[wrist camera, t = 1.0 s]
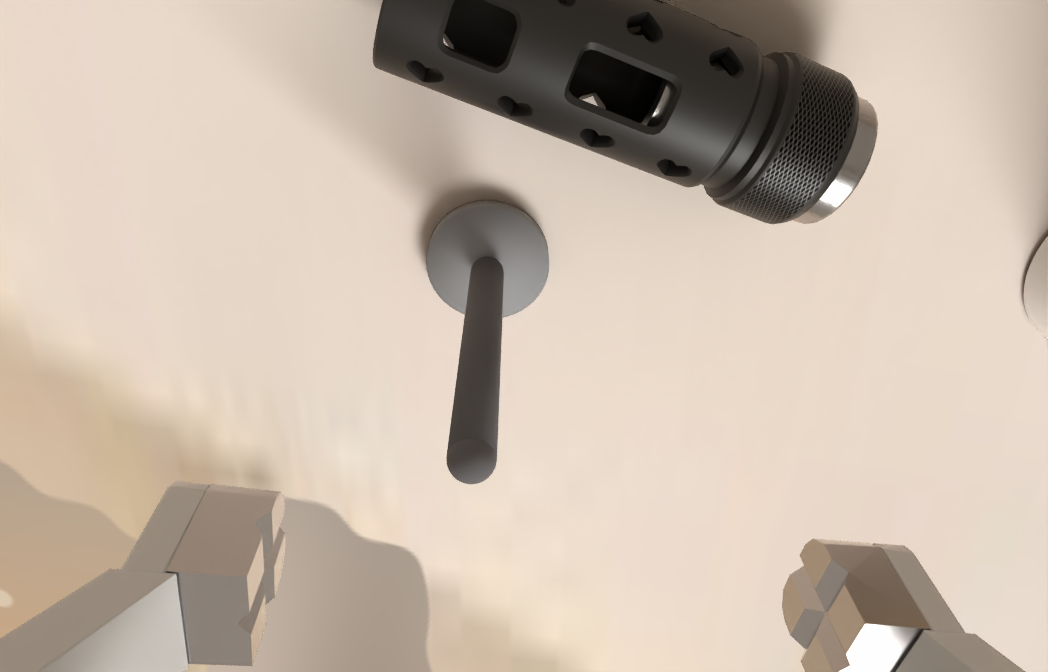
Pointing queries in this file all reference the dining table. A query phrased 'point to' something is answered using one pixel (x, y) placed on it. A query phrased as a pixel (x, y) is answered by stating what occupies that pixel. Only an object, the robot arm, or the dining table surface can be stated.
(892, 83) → the dining table surface
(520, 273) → the cord post
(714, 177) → the muzzle brake
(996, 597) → the dining table surface
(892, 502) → the dining table surface
